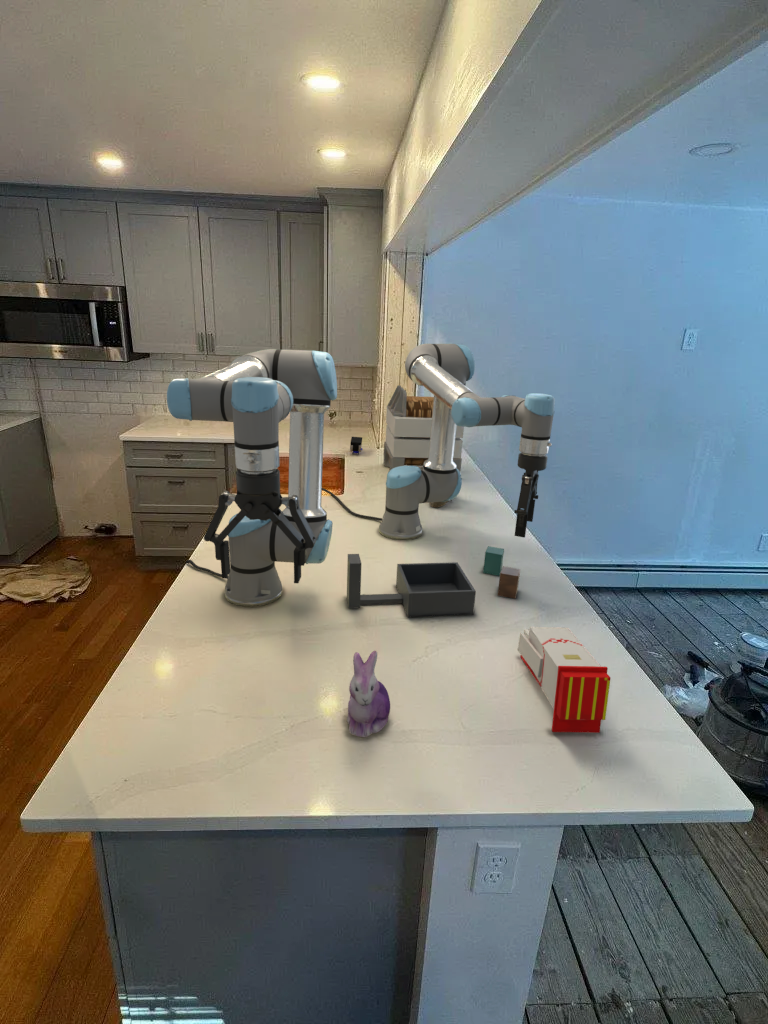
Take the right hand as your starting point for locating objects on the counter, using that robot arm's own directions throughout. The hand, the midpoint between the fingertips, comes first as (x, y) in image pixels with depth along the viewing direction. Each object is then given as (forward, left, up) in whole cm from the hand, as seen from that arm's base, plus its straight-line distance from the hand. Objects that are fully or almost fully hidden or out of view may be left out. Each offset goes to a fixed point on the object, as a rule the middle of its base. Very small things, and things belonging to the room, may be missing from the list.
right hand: (523, 528), depth 157 cm
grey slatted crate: (-104, +62, -19) cm, 122 cm away
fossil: (-68, +40, -19) cm, 81 cm away
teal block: (-12, +4, -19) cm, 23 cm away
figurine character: (-152, +60, -19) cm, 164 cm away
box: (-14, -30, -19) cm, 38 cm away
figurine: (+17, -69, -19) cm, 74 cm away
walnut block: (0, -4, -19) cm, 19 cm away
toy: (+33, -31, -19) cm, 49 cm away
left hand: (-2, -80, +7) cm, 80 cm away
